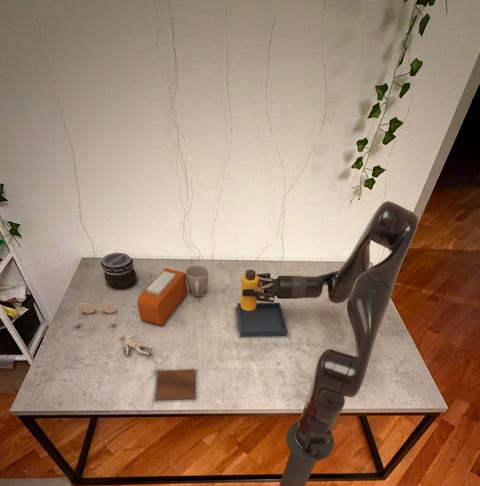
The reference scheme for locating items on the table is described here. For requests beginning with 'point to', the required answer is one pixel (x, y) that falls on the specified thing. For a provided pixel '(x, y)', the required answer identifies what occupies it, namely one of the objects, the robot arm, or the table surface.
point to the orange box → (162, 296)
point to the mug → (197, 280)
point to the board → (175, 385)
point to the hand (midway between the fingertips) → (242, 287)
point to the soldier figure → (133, 344)
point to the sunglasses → (104, 306)
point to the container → (119, 270)
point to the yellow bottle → (249, 283)
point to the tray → (262, 320)
